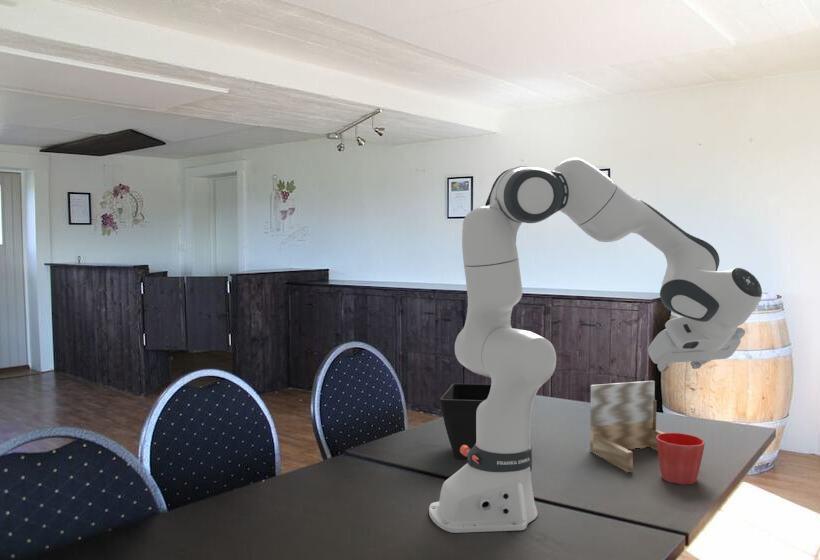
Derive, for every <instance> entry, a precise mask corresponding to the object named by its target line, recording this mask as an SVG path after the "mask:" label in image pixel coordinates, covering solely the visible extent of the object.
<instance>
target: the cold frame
mask: <svg viewBox="0 0 820 560" xmlns="http://www.w3.org/2000/svg"><path fill="white" fill-rule="evenodd" d="M655 384H656V381H655V380H644V381H629V382H628V381H627V382H615V383H602V384H590V422H589V423H590V426H589V427H590V429H589V431H590V433H589V439H590V441H589V447H590V448H589V452H590V451H592V452H593V453H592V452H591V453H592V454H594V453H595V454H596V455H595V454H594V455H595V456H597V455H598V456H597V457H599V456H600V457H599V458H601V457H602V458H604V459H605V460H604V459H603V460H604V461H606V460H607V461H606V462H608V463H609V462H610V463H609V464H611V463H612V464H611V465H613V466H614V465H615V467H616V466H617V467H616V468H618V467H619V468H618V469H620V468H621V469H622V471H623V470H624V471H623V472H625V471H626V472H625V473H627V472H631V473H634V471H633V468H634V466H633V464H634V463H633V462H634V461H633V460H634V452H633V451H632V450H636V449H635V448H640V449H647V448H646V447H650V449H653V450H655V451H657V452H658V449H657V442H656V436H657V435H659V434H663V433H665V432H663V431H662V430H659V429H657V402H658V401H657V400H656V399H655V390H656V389H655V388H656V387H655V386H656V385H655ZM628 449H630V450H628ZM602 458H601V459H602ZM621 469H620V470H621Z"/></svg>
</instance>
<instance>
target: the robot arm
mask: <svg viewBox="0 0 820 560" xmlns="http://www.w3.org/2000/svg"><path fill="white" fill-rule="evenodd" d="M557 212H560V213H563V214H564V215H566V216H567V217H568V218H569V219H570V220H571V221H572V222H573V223H575V224H576V226H577V227H578V228H579V229H581V230H582V231H583V232H584V233H585V234H586V235H587V236H589V237H590V238H592V239H594V240H595V241H598V242H601V243H602V242H603V243H612V242H616V241H619V240H621V239H623V238H625V237H627V236H628V235H630V234H631V233H632V234H636V235H638V236H640V237H642V238H643V239H644V240H646V241H647V242H649V244H651V245H652V246H653V247H655V248H656V249H658V250H659V251H660V252H662V253H663V256H664V257H665V260H666V264H667V266H666V270H665V273H664V276H663V279H662V282H661V288H660V292H659V296H660V300H661V303H662V304H663V305H664V307H665V308H667V309H668V310H669V311H671V312H672V313H674V314H676V315H678V316H679V317H675V318H672V319H669V320H667V321H666V322H665V324H664V326H665V328H664V329H663V330H661V331H660V332H659V333H657V335H656V336H655V337H654V339H653V340H652V341H651V343H650V344H649V345H648V348H647V354H648V355H649V358H650V360H651V361H652V362H653V363H654V364H656V365H657V369H658V371H659V372H666V371H668V370H669V368H670V366H669V364H671V363H673V364H675V363H687V362H690V366H691V367H692V369H693V370H695V369H696V370H698V369H700V368H701V367H702V366H704V365H705V364H707V363H710V362H711V361H713V360H715V361H716V360H726V359H728V358H731V357H732V356H733V355H734V353H735V352H736V350H737V349H738V347H739V346H740V344H741V341H742V340H741V339H742V338H744V336H745V334H746V331H745V329H744V328H742V327H740V326H742V325H743V324H744V323H745V322H747V320H748V319H749V318H750V317H751V315H752V314H753V312H754V311H755V310H756V308H757V307H758V305H760V302H761V299H762V296H763V295H762V294H763V290H762V287H761V286H762V285H761V284H760V282H759V280H758V278H757V277H755V275H754V274H752V273H751V272H749V271H748V270H746V269H744V268H743V267H733V268H731V269H728V270H720V271H719V270H718V269H719V266H720V256H719V253H718V251H717V250H716V248H715V247H714V246H713V245H712V244H710V243H709V242H707V241H706V240H703V239H702V238H701V239H700V238H699V237H696V236H694V235H692V234H689V233H688V232H687V231H685V230H684V229H682V228H681V227H679V226H678V225H677V224H676V223H674V222H673V221H671V220H670V219H669V218H668V217H666V216H665V215H663V213H661V212H660V211H658V210H657V209H656V208H654V207H653V206H652V205H650V204H649V203H647V202H645V201H643V200H642V199H639V198H637V197H633V196H632V195H630V194H629V193H627V192H626V191H624V190H623V189H622V188H621V187H620V186H619V185H618V184H617V183H616V182H614V181H613V180H612V179H611V178H610V177H609V176H608V175H606V174H605V173H604V172H602V171H601V170H600V169H598V168H597V167H596V166H594V165H592V164H591V163H590V162H587V161H585V160H584V159H582V158H580V157H572V158H567V159H566V160H564V161H561V162H560V163H559V164H558V165H557V166H556V167H555V168H554V169H553V170H550V169H546V168H542V167H535V166H530V165H529V166H527V165H522V166H521V165H520V166H516V167H511V168H509V169H507V170H505V171H503V172H501V173H500V174H499V175H498V177H496V179H495V181H494V182H493V184H492V187H491V190H490V192H489V195H488V197H487V199H486V201H485V205H484V206H483V205H482V206H479V207H476V208H474V209H472V210H471V211H469V212H468V213H466V215H465V217H464V218H463V222H462V230H461V232H462V233H461V235H462V236H461V243H462V244H461V246H462V247H461V248H462V249H461V250H462V260H463V267H464V276H465V286H466V291H467V292H466V294H467V310H466V311H467V312H466V316H465V317H466V318H465V323H464V326H463V328H462V329H461V331H460V332H459V333H458V334H457V336H456V338H455V342H454V355H455V357H456V360H457V361H458V362H459V363H460V365H462V366H463V367H465V368H466V369H467V370H469V371H471V372H472V373H473V374H474V373H475V375H480V376H483V377H486V378H490V379H491V380H490V381H491V383H490V384H491V388H490V392H489V395H488V397H487V399H486V400H484V401H483V402H482V403H480V405H479V406H478V408H477V411H476V444H475V445H474V447H473V448H472V449H470V448H469V447H468V446H467V445H462V446H461V448H460V452H461V454H463V455H464V456H466V457H467V456H468V460H467V463H466V464H464V465H463V466H462V467H461V468H460V469H457V471H456V472H455V473H453V474H452V475H451V476H450V477H448V478H447V479H446V480H445V481H443V484H442V486H441V489H440V494H439V499H438V500H439V501H435V502H431V503H430V505H429V507H428V515H429V517H430V519H431V520H432V522H433V523H434V524H435V525H436V526H437V527H438V528H441V529H442V530H443V531H446V532H449V533H452V534H453V533H455V534H458V533H460V534H461V533H462V534H463V533H482V532H483V533H485V532H486V533H487V532H488V533H489V532H507V531H508V532H510V531H513V532H515V531H524V530H526V529H527V527H528V524H529V523H531V522H533V521H534V520H536V519H537V517H538V509H537V506H536V502H535V498H534V492H533V486H532V475H531V473H532V470H533V451H532V450H533V449H532V447H533V446H532V445H531V439H530V438H531V415H532V414H531V413H532V407H533V404H534V401H535V397H536V395H537V393H538V391H539V389H540V388H541V387H542V386H543V385H544V384H545V383H546V382H548V381H549V379H551V377H552V375H553V374H554V372H555V369H556V367H557V353H556V349H555V347H554V345H553V344H552V342H550V340H549V339H547V338H545V337H543V336H541V335H539V334H537V333H535V332H533V331H530V330H525V329H518V328H513V327H512V325H511V324H512V323H511V318H512V312H513V308H514V306H516V305H517V304H518V303H519V302H520V300H521V299H522V297H523V285H522V277H521V276H522V275H521V270H520V261H519V254H518V248H517V236H518V231H519V229H520V226H521V225H522V224H536V223H540V222H542V221H545V220H548V218H550V217H551V216H553V215H554V214H556V213H557Z"/></svg>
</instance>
